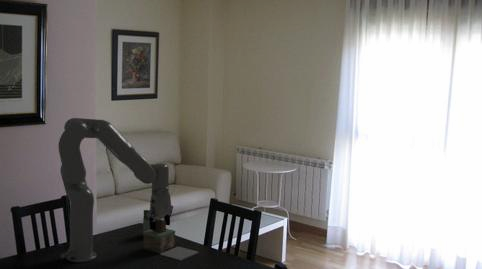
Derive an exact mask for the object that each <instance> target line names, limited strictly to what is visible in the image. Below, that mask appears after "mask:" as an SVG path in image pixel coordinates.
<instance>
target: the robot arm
mask: <svg viewBox="0 0 482 269" xmlns="http://www.w3.org/2000/svg"><path fill="white" fill-rule="evenodd" d="M63 128H64V130H63V132H62V133H61V136H60V137H59V140H58V153H59V157H60V162H61V166H60V175H61V180H62V184H63V186H64V187H63V188H64V190H65V194H66V197H67V199H68V201H69V205H70V207H69V208H70V210H69V248H68V249H67V251H66V252H63V253H61V254H60V258H61V259H66V260H67V261H69V262H72V263H85V262H86V263H87V262H90V261H93V260H95V259H96V258H97V256H98V255H97V253H96V252H95V251H94V247H93V246H94V244H93V243H94V239H93V238H94V235H93V234H94V218H93V217H94V205H95V197H94V192H93V191H92V190H91V188H89V186H88V183H87V181H86V180H87V179H86V177H87V170H86V167H85V163H84V160H83V155H82V153H81V143H82V141H83V140H84V139H97V140H98V141H99V142H100V143H101V144H102V145H103V146H104V147H105V148H106V149H107V150H108V151H109V152H110V154H112V155H113V157H115V158H116V159H117V160H118V161H119V162H121V163H122V164H123V165H124V166H126V167H127V168H128V169H129V170H130V171H131V172H132V173H133V175H134V177H135V178H136V179H137V180H139V181H140V182H142V183H143V184H146V185H149V184H151V195H150V196H151V197H150V201H149V202H150V203H149V204H150V205H149V206H150V207H149V209H148V210H149V211H148V212H147V213H146V215H147V218H148V220H149V221H150V230H156V222H155V220H156V218H157V217H159V218H161V217H163V220H164V221H166V226H170V225H171V217H172V212H173V210H174V205H172V199H171V194H170V193H171V192H169V187H170V186H169V185H170V183H169V182H170V181H169V179H170V178H169V177H170V174H169V173H170V169H169V168H170V167H169V164H166V163H163V162H162V163H154V164H153V163H152V164H151V163H149V162H148V161H147V159H145V158H144V157H143V156H142V155H141V154H140V153H139V152H138V151H137V149H136V148H135V146H133V145H132V144H131V143H130V142H129V141H128V139H127V138H125V137H124V136H123V135H122V134H121V132H120V131H119V130H118V129H117V128H116V126H114V125H113V124H111V122H109V121H108V120H107V121H106V120H104V119H96V118H95V119H93V118H80V117H72V118H69V119H68V120H67V121H66V122H65V123H64V127H63ZM153 217H154V218H153Z"/></svg>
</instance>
